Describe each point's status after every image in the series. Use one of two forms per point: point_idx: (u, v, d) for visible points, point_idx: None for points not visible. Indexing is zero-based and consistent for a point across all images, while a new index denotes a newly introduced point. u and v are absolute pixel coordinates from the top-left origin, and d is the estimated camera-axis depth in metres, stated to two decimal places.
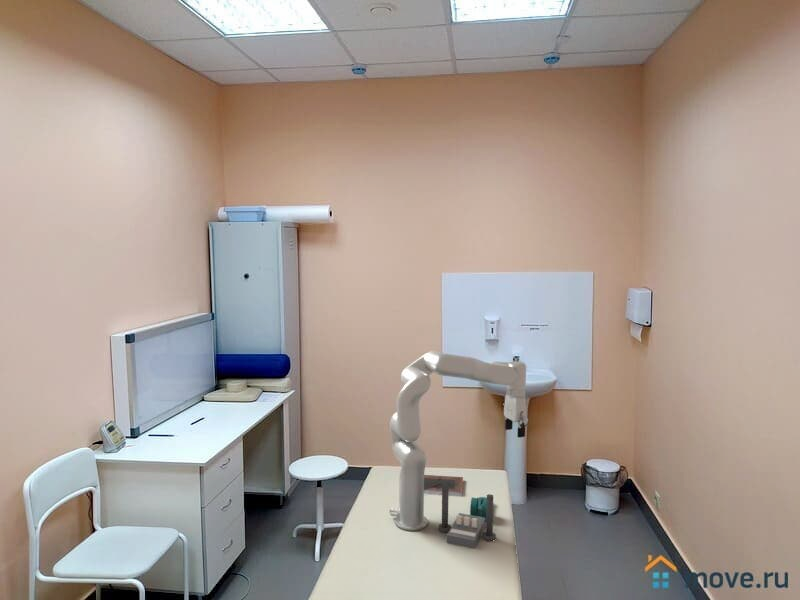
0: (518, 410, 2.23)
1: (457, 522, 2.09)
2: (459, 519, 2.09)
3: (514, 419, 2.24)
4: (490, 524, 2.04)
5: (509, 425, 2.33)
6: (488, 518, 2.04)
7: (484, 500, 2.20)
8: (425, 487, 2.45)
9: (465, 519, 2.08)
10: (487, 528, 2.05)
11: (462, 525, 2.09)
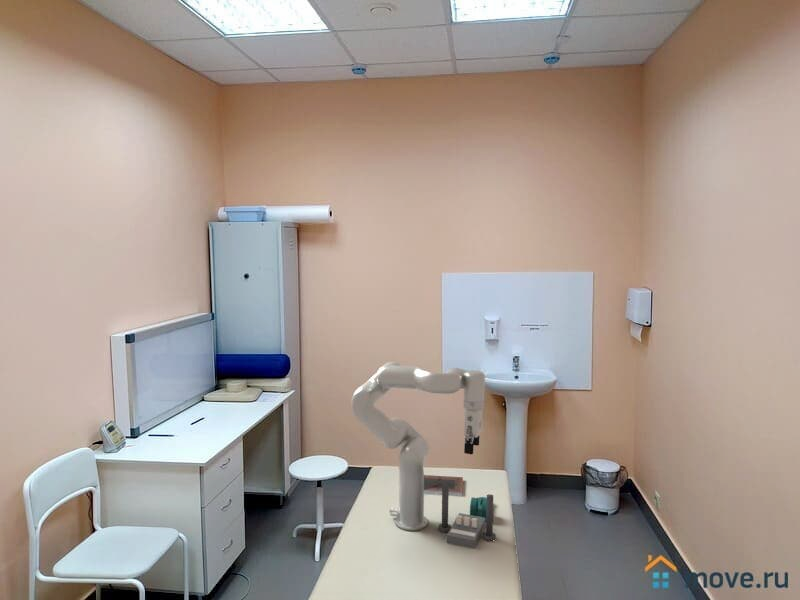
0: None
1: (457, 522, 2.09)
2: (459, 519, 2.09)
3: (481, 428, 2.10)
4: (490, 524, 2.04)
5: None
6: (488, 518, 2.04)
7: (484, 500, 2.20)
8: (425, 487, 2.45)
9: (465, 519, 2.08)
10: (487, 528, 2.05)
11: (462, 525, 2.09)
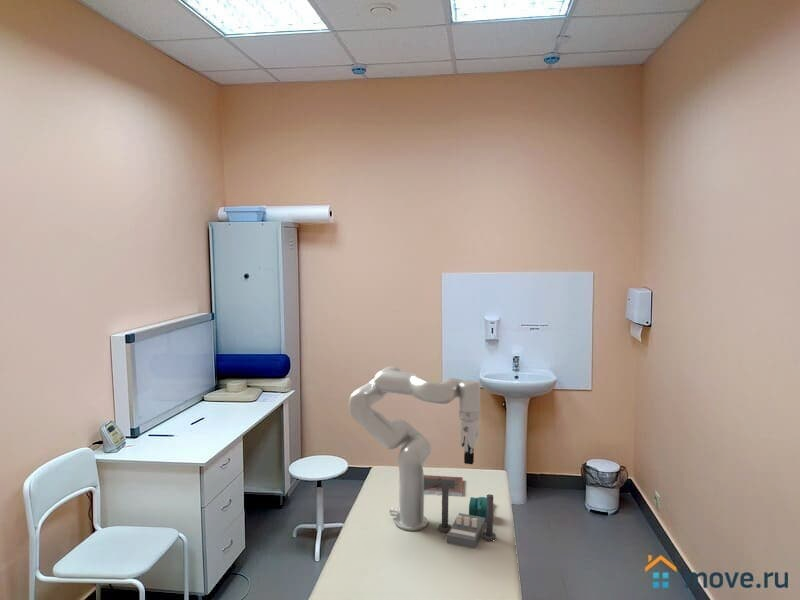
0: None
1: (457, 522, 2.09)
2: (459, 519, 2.09)
3: (478, 438, 2.08)
4: (490, 524, 2.04)
5: None
6: (488, 518, 2.04)
7: (483, 500, 2.20)
8: (425, 487, 2.45)
9: (465, 519, 2.08)
10: (487, 528, 2.05)
11: (462, 525, 2.09)
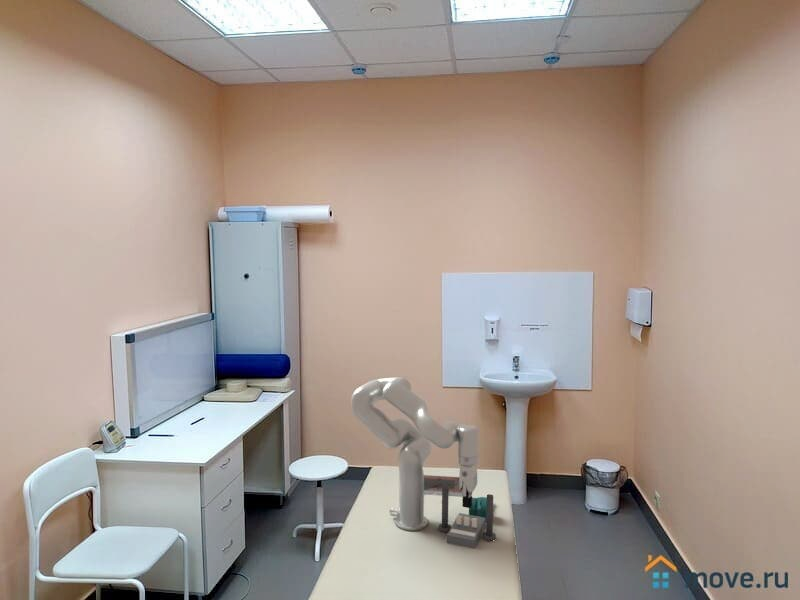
0: None
1: (457, 522, 2.09)
2: (459, 519, 2.09)
3: None
4: (490, 524, 2.04)
5: None
6: (488, 518, 2.04)
7: (483, 500, 2.20)
8: (425, 487, 2.45)
9: (465, 519, 2.08)
10: (487, 528, 2.05)
11: (462, 525, 2.09)
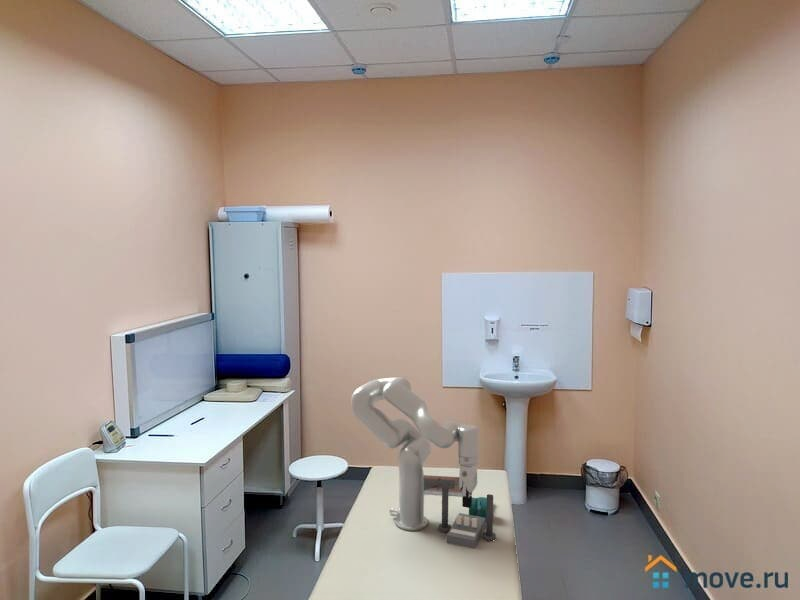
0: None
1: (457, 522, 2.09)
2: (459, 519, 2.09)
3: None
4: (490, 524, 2.04)
5: None
6: (488, 518, 2.04)
7: (483, 500, 2.20)
8: (425, 487, 2.45)
9: (465, 519, 2.08)
10: (487, 528, 2.05)
11: (462, 525, 2.09)
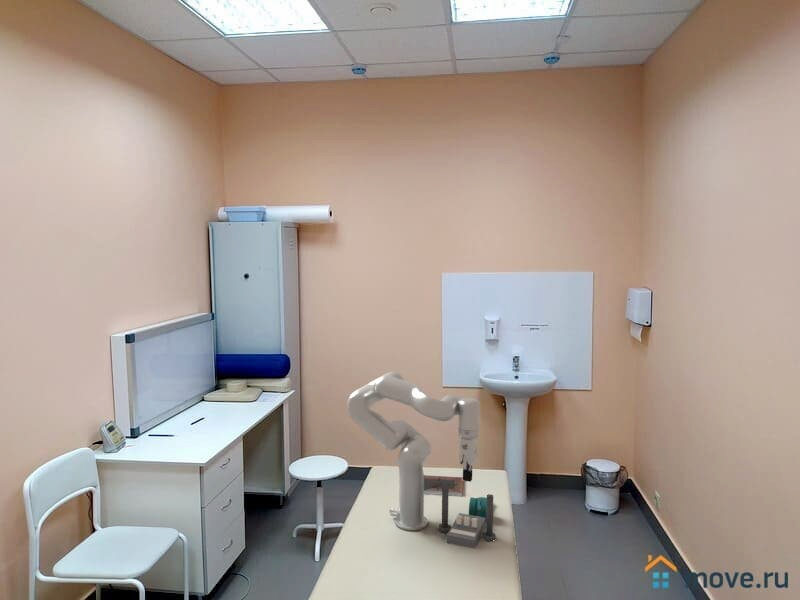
0: None
1: (457, 522, 2.09)
2: (459, 519, 2.09)
3: (477, 455, 2.09)
4: (490, 524, 2.04)
5: None
6: (488, 518, 2.04)
7: (483, 500, 2.20)
8: (425, 487, 2.45)
9: (465, 519, 2.08)
10: (487, 528, 2.05)
11: (462, 525, 2.09)
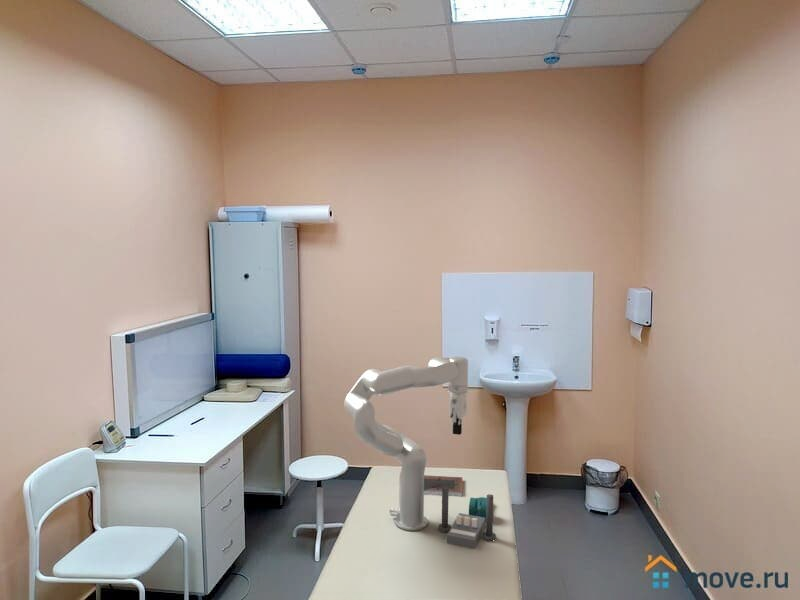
0: None
1: (457, 522, 2.09)
2: (459, 519, 2.09)
3: (466, 411, 2.24)
4: (490, 524, 2.04)
5: None
6: (488, 518, 2.04)
7: (483, 500, 2.20)
8: (425, 487, 2.45)
9: (465, 519, 2.08)
10: (487, 528, 2.05)
11: (462, 525, 2.09)
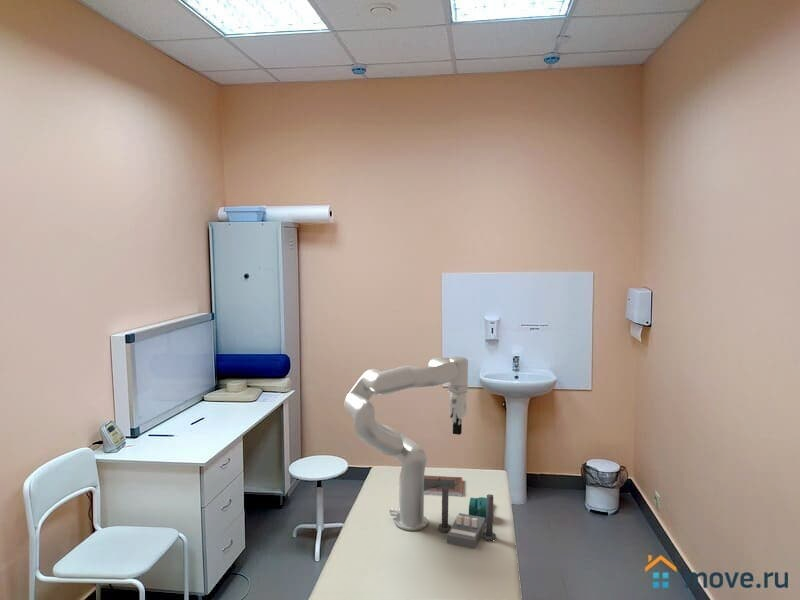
0: None
1: (457, 522, 2.09)
2: (459, 519, 2.09)
3: (466, 411, 2.24)
4: (490, 524, 2.04)
5: None
6: (488, 518, 2.04)
7: (483, 500, 2.20)
8: (425, 488, 2.45)
9: (465, 519, 2.08)
10: (487, 528, 2.05)
11: (462, 525, 2.09)
